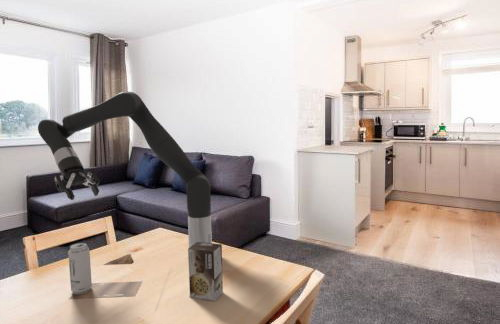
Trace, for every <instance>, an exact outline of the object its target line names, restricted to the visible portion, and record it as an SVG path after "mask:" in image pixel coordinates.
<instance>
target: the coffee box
mask: <svg viewBox="0 0 500 324" xmlns="http://www.w3.org/2000/svg"><path fill="white" fill-rule="evenodd" d="M222 253H223V247H222V244H221V243H213V242H212V243H204V242H196V243H195V244H193V245H192V246H191V247H190V248H189V247H188V248H187V257H188V279H189V280H188V281H189V283H188V284H189V297H190V298H194V299H200V300H207V301H213V302H216V301H217V300H218V299H219V298H220V296H221V295H222V294H223V293H224V290H223V289H224V288H223V287H224V286H223V254H222Z"/></svg>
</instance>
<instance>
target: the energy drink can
mask: <svg viewBox="0 0 500 324" xmlns="http://www.w3.org/2000/svg"><path fill="white" fill-rule="evenodd" d="M67 254H68V267H69V269H68V270H69V279H70V291H71V292H72V294H73V293H74V294H84V293H86V292H88V291H89V290H90V288H91V287H92V283H93V282H92V268H91V256H90V255H91V253H90V248H89V246H88V244H87V243H85V242H79V243H74V244H72V245H70V246H69V250H68V253H67Z"/></svg>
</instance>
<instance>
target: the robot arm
mask: <svg viewBox="0 0 500 324" xmlns="http://www.w3.org/2000/svg"><path fill="white" fill-rule="evenodd" d="M122 117H129V118H130V119H131V120H132V121H133V122H134V123H135V124H136V126H138V128H139V130H141V131H140V132H141V133H142V135H143V137H144V139H145V141H146V143H147V145H148V146H149V148H150V150H151V151H152V152H153V153H154V154H155V155H156V156H157V157H158V159H159V160H160V161H161V162H163V163H164V164H165V165H166V166H167V167H169V168H170V169H171V170H173V171H174V172H175V173H176V174H177V175H178V176H179V177H180V178H181V180H182V181H183V183H184V185H186V208H187V227H188V228H187V229H188V248H190V247H191V246H192V245H193V244H195V243H196V242H204V243H213V241H212V239H213V238H212V237H213V236H212V234H213V233H212V204H211V203H212V202H211V182H210V180H209V178H208V177H207V176H206V175H205V174H203V172H202V171H201V170H199V168H197V166H195V164H193V163H192V161H191V160H190V159H189V157H188V156H187V154H186V153H185V152H184V150H183V149H182V147H181V146H180V145H179V143H178V142H177V141H176V140H175V138H173V136H172V135H171V134H170V133H169V132H168V130H167V129H165V127H164V126H163V125H162V124H161V123H160V122H159V121H158V120H157V119H156V118H155V116H153V114H152V112H151V111H150V109H149V108H148V107H147V105H146V103H144V101H143V100H142V98H141V97H140V96H139V95H138V94H137V93H136V92H133V91H122V92H119V93H117V94H116V95H114V96H112V97H110V98H109V99H107V100H104V101H103V102H101V103H99V104H96V105H94V106H91V107H88V108H85V109H81V110H79V111H76V112H72V113H69V114H67V115H65V116H63V118H62V120H61V123H62V124H61V123H59V122H57V121H56V120H54V119H51V118H44V119H41V120H40V121H39V123H38V124H37V131H38V134H39V136H40V137H41V139H42V140H43V142H45V144H46V145H47V146H48V147H49V149H50V151H51V153H52V155H53V158H54V160H55V164H56V165H57V166H56V167H57V168H58V169H59V170H58V171H60V173H61V175H60V174H58V173H57V174H56V175H55V176H54V180H53V181H54V183H55V186H56V189H57V192H60V193H61V192H64V193H65V194H66V197H67V198H68V199H69V200H70V201H73V200H75V197H76V196H75V194H74V191H73V189H72V188H71V186H77V185H78V186H79V185H80V186H81V185H84V186H85V187H89V188H90V189H91V191H92V193H93V196H95V197H97V196H98V195H99V193H100V189H99V188H98V186H99V184H100V182H101V180H100V178H99V177H98V175H97V173H96V172H95V170H93V169H91V170H90V171H86V170H85V168H84V166H83V164H82V162H81V160H80V157H79V156H78V154H77V152H76V151H75V149H74V148H73V146H72V144H71V142H70V141H69V140H68V138H69V137H71V136H72V135H74V134H75V133H78V132H80V131H84V130H86V129H89V128H91V127H93V126H95V125H98V124H99V123H102V122H105V121H108V120H110V119H115V118H122ZM63 181H64V182H66V183H67V184H65V185H64V184H63V183H64V182H63Z"/></svg>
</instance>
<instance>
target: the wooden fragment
mask: <svg viewBox="0 0 500 324" xmlns="http://www.w3.org/2000/svg"><path fill="white" fill-rule="evenodd" d="M132 263H134V260H133V257H132V254H131V253H127V254H126V255H123V256H121V257H118V258H116V259H113V260H110V261H108V262H106V263H105V264H103V266H112V265H114V266H115V265H131V264H132Z"/></svg>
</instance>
